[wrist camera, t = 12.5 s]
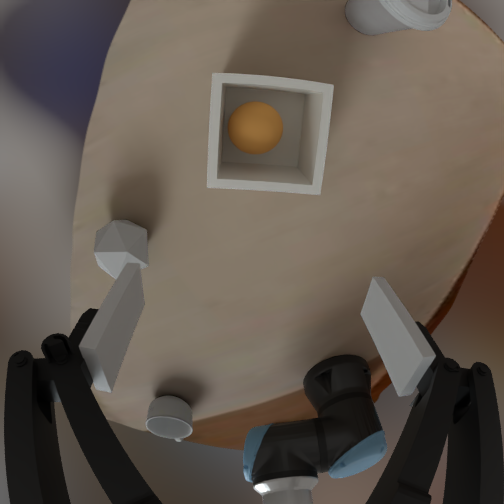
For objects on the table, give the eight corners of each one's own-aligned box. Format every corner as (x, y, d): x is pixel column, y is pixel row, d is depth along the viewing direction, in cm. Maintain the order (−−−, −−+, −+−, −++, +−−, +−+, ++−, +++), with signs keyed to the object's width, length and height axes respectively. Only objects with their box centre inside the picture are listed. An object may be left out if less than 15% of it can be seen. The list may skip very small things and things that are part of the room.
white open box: (311, 88, 35) (333, 85, 26) (302, 173, 40) (320, 195, 32) (219, 80, 34) (212, 72, 25) (214, 167, 40) (206, 187, 31)
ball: (291, 104, 34) (276, 102, 28) (286, 154, 37) (271, 161, 31) (242, 100, 36) (219, 99, 30) (238, 148, 39) (216, 154, 33)
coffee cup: (378, 57, 32) (439, 46, 19) (321, 17, 30) (362, -19, 17) (405, 16, 29) (467, -4, 15) (352, -24, 26) (399, -64, 13)
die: (96, 224, 43) (85, 282, 39) (108, 197, 37) (94, 263, 33) (142, 237, 48) (135, 293, 44) (161, 213, 42) (154, 277, 38)
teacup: (147, 387, 62) (140, 415, 55) (193, 391, 62) (189, 420, 55) (157, 417, 68) (153, 441, 61) (197, 420, 69) (195, 446, 62)
